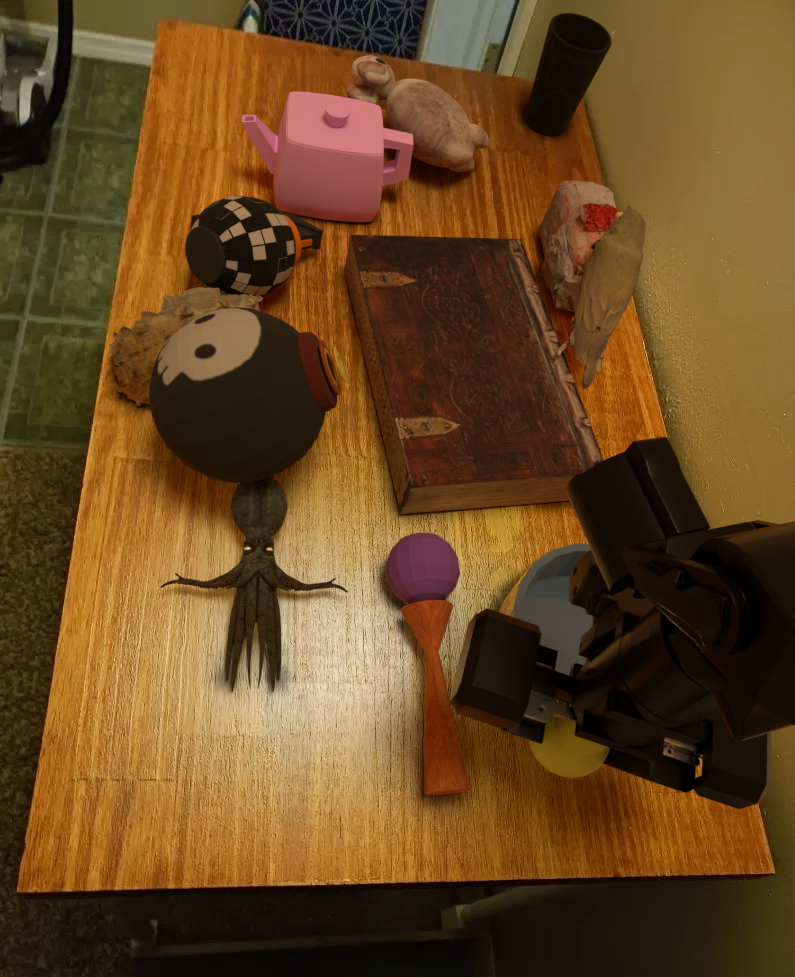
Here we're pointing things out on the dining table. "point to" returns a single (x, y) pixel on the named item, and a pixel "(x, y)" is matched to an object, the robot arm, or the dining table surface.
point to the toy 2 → (420, 114)
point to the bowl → (552, 604)
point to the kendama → (431, 647)
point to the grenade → (247, 245)
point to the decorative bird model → (606, 290)
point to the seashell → (163, 335)
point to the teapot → (330, 156)
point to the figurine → (256, 577)
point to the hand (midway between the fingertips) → (560, 741)
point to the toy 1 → (242, 393)
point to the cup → (565, 71)
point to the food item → (573, 236)
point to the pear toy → (567, 750)
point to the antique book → (466, 373)
